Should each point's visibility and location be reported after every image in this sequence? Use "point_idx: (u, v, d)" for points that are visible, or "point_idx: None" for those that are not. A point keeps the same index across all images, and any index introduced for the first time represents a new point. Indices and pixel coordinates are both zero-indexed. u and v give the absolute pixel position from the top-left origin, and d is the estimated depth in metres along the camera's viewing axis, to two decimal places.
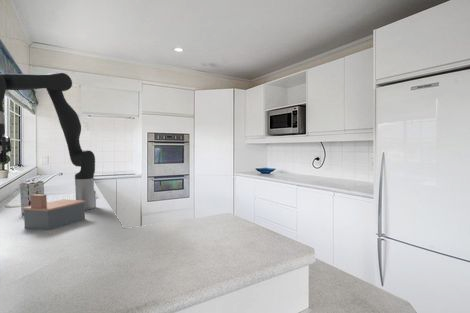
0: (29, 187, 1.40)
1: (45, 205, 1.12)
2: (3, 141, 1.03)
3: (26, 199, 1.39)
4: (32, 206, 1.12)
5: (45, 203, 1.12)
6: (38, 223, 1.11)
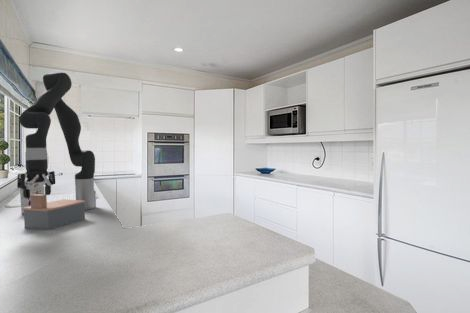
0: None
1: (45, 205, 1.12)
2: (53, 175, 1.18)
3: (26, 199, 1.39)
4: (32, 206, 1.12)
5: (45, 203, 1.12)
6: (38, 223, 1.11)
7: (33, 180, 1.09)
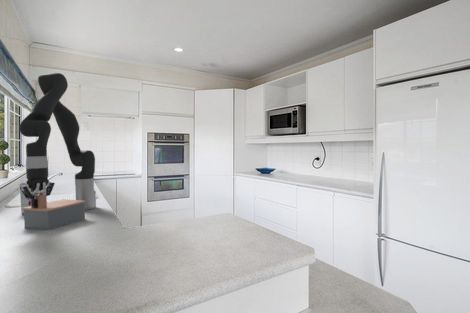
0: None
1: (45, 205, 1.12)
2: (52, 186, 1.17)
3: (26, 199, 1.39)
4: None
5: (45, 203, 1.12)
6: (38, 223, 1.11)
7: (37, 189, 1.10)
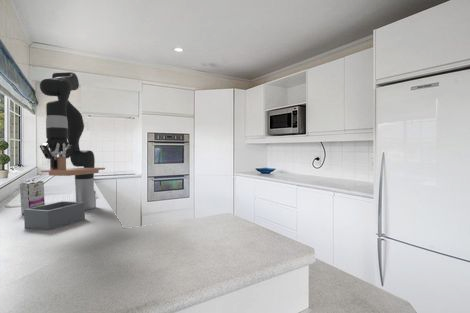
0: (29, 187, 1.40)
1: (64, 167, 1.09)
2: (71, 149, 1.14)
3: (26, 199, 1.39)
4: (51, 168, 1.09)
5: (64, 165, 1.09)
6: (38, 223, 1.11)
7: (56, 150, 1.07)
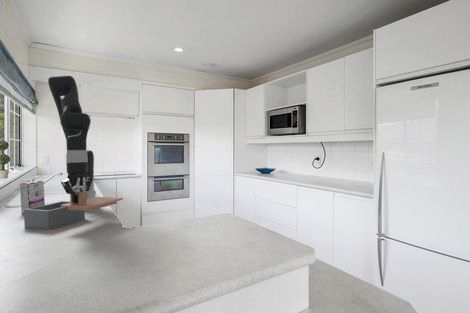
0: (29, 187, 1.40)
1: (85, 202, 1.08)
2: (91, 182, 1.13)
3: (26, 199, 1.39)
4: (72, 203, 1.08)
5: (85, 200, 1.08)
6: (38, 223, 1.11)
7: (77, 184, 1.06)
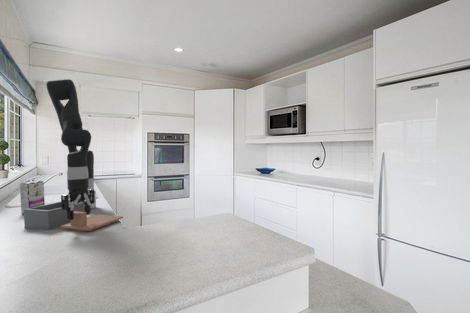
0: (29, 187, 1.40)
1: (85, 223, 1.08)
2: (93, 194, 1.14)
3: (26, 199, 1.39)
4: (72, 224, 1.08)
5: (85, 221, 1.08)
6: (38, 223, 1.11)
7: (76, 200, 1.05)
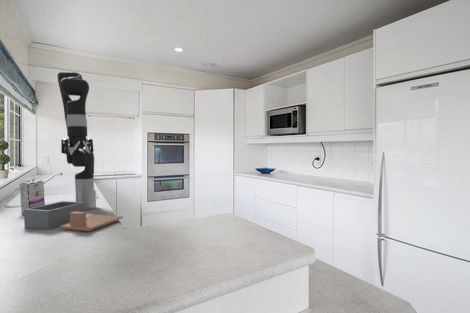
0: (29, 187, 1.40)
1: (85, 223, 1.08)
2: (92, 143, 1.20)
3: (26, 199, 1.39)
4: (71, 224, 1.07)
5: (85, 221, 1.08)
6: (38, 223, 1.11)
7: (75, 146, 1.11)
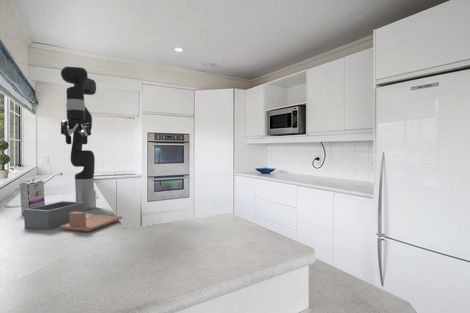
0: (29, 187, 1.40)
1: (84, 223, 1.07)
2: (89, 127, 1.29)
3: (26, 199, 1.39)
4: (71, 224, 1.07)
5: (84, 221, 1.07)
6: (38, 223, 1.11)
7: (74, 128, 1.20)
